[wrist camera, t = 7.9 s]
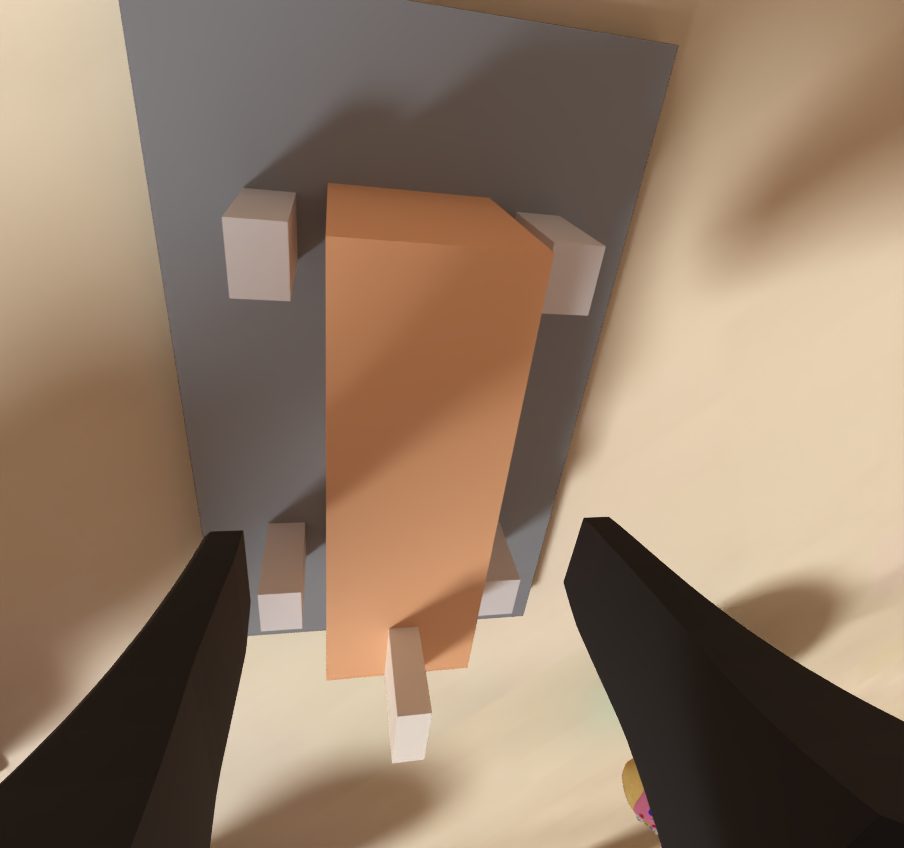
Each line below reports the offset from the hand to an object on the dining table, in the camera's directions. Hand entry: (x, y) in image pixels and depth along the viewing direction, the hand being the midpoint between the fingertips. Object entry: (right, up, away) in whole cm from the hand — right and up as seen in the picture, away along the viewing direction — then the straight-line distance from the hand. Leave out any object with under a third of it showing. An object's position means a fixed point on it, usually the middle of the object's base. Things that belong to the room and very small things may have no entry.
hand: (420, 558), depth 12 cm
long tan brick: (-1, +4, +5) cm, 6 cm away
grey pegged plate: (-1, +4, +6) cm, 7 cm away
